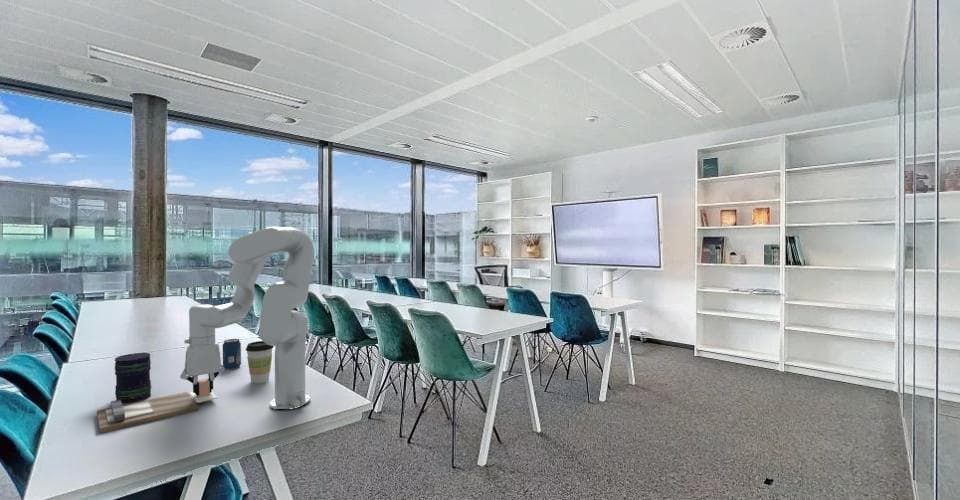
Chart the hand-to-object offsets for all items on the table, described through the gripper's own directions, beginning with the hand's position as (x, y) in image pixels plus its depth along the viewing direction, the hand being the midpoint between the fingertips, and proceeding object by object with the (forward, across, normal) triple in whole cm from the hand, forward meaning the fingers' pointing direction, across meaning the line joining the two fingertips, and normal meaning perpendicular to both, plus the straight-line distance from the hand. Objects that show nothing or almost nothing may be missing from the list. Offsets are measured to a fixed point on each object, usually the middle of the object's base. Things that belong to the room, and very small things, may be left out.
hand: (203, 392), depth 148 cm
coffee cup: (+3, +21, +8) cm, 22 cm away
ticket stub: (+1, 0, 0) cm, 1 cm away
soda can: (+3, +18, +36) cm, 40 cm away
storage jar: (+3, -17, +19) cm, 26 cm away
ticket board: (+3, -15, 0) cm, 16 cm away
